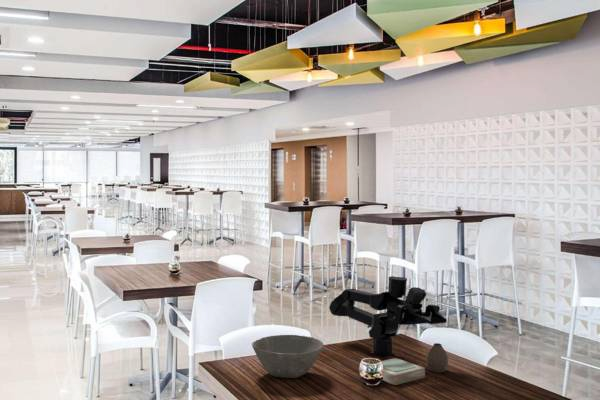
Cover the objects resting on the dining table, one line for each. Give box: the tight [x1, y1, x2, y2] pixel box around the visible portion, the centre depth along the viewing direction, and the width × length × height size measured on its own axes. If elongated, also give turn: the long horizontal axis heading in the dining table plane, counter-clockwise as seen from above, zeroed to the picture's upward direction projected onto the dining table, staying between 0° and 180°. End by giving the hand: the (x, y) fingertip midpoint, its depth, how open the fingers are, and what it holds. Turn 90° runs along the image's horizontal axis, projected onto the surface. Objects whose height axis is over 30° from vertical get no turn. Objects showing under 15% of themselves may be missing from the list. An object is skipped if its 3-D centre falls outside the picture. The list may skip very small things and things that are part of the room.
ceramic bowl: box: [251, 334, 325, 379], centre depth 179 cm, size 22×23×10 cm
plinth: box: [380, 357, 426, 386], centre depth 178 cm, size 13×13×3 cm
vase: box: [426, 342, 449, 373], centre depth 183 cm, size 7×7×9 cm
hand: (436, 321), depth 181 cm, fingers open, 9 cm apart
